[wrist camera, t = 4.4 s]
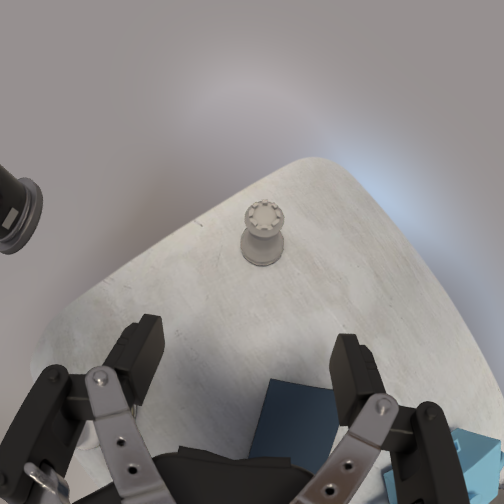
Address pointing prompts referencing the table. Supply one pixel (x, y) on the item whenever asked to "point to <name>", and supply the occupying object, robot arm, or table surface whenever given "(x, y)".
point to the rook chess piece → (263, 233)
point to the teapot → (471, 466)
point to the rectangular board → (296, 424)
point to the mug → (498, 497)
